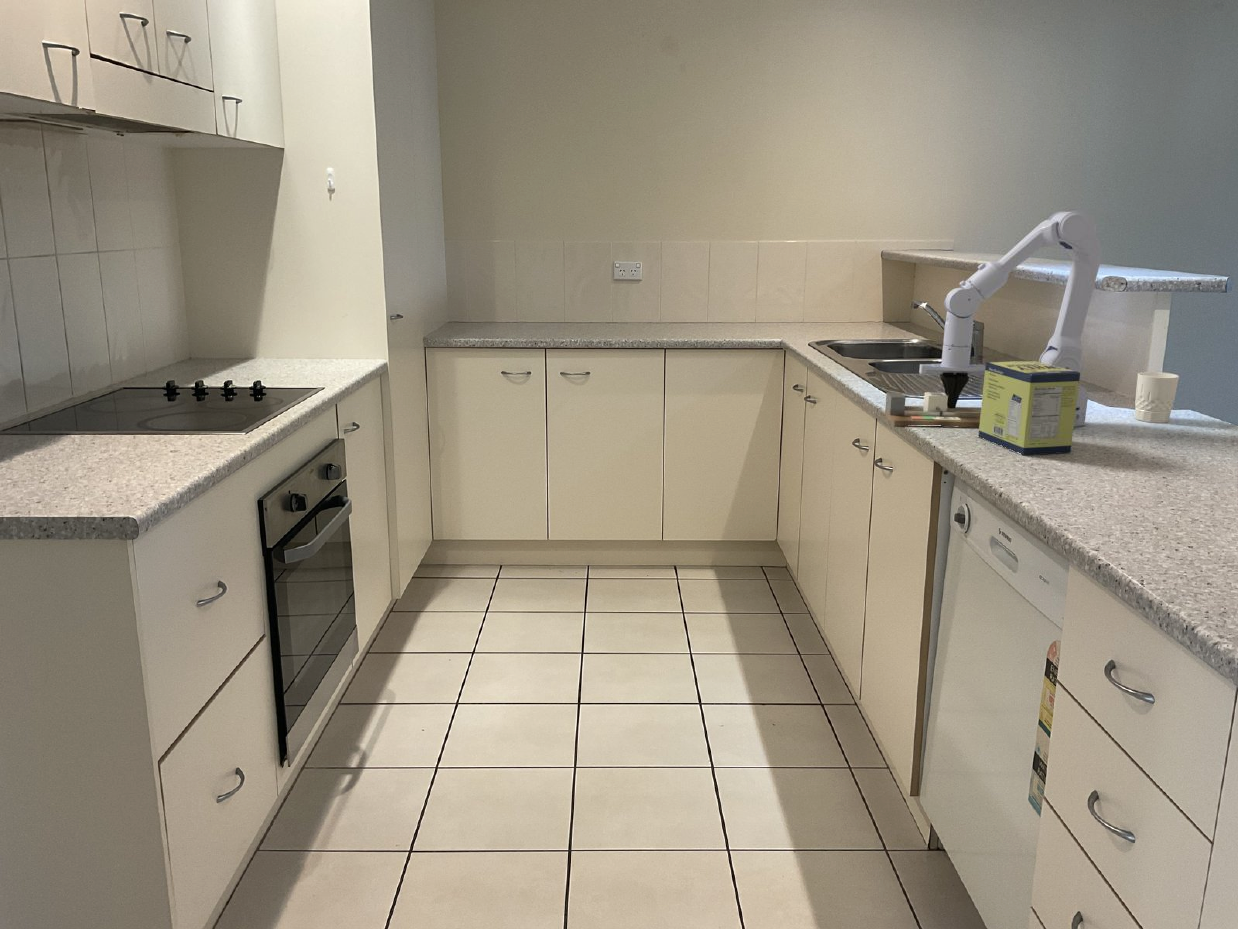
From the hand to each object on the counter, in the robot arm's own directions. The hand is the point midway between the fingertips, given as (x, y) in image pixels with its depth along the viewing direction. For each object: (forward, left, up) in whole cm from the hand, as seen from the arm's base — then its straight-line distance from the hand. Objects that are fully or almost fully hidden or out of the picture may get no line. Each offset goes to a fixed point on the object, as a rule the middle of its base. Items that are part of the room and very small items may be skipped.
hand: (951, 407), depth 211 cm
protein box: (-24, +4, -3) cm, 24 cm away
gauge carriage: (0, +4, -1) cm, 4 cm away
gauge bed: (-1, +3, -3) cm, 4 cm away
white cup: (-19, -40, -3) cm, 44 cm away
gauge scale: (-3, +7, -1) cm, 7 cm away
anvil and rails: (+1, +3, -1) cm, 3 cm away
